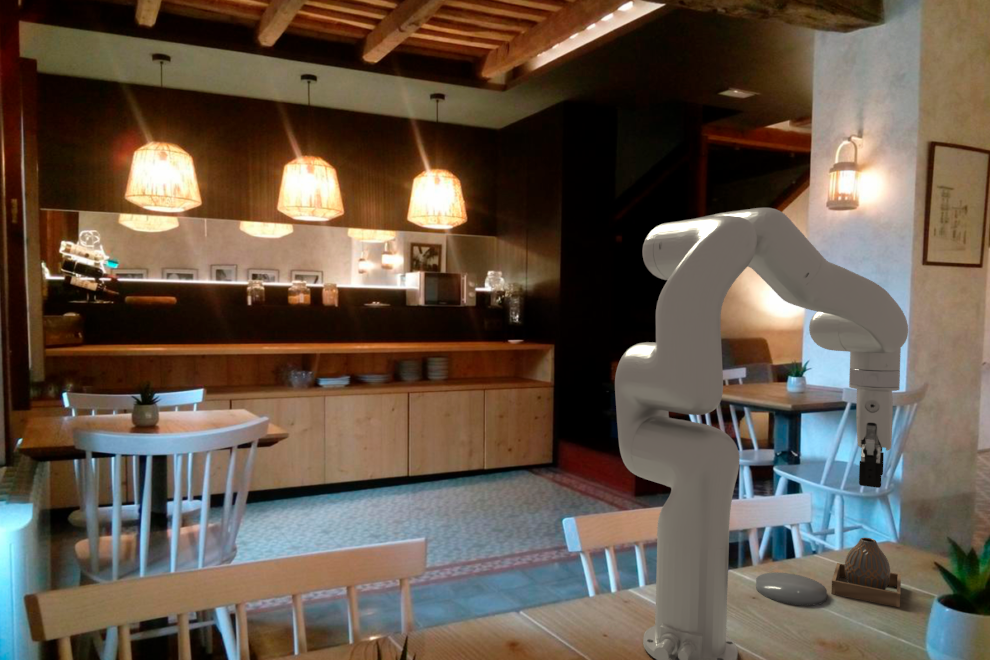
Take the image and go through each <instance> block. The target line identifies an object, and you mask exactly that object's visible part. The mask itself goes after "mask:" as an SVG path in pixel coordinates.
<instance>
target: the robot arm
mask: <svg viewBox="0 0 990 660" xmlns="http://www.w3.org/2000/svg"><path fill="white" fill-rule="evenodd" d="M642 258H643V263H644V265H645V267H646V269H647V270H648V271H649V272H650V273H651V274H652V276H654V277H656V278H658V279H661V280H664V281H666V282H665V284H664V285H663V288H662V289H661V291H660V294H659V296H658V300H657V301H656V309H655V342H653V341H652V342H649V341H646V342H639V343H636V344H634V345H632V346H630V347H629V348H627V349H626V351H625V352H624V353H623V355H622V356H621V358H620V360H619V362H618V365H617V367H616V372H615V376H614V378H615V379H614V391H615V392H614V394H615V406H616V407H615V408H616V409H615V410H616V423H617V424H616V426H617V438H618V447H619V453H620V456H621V459H622V462H623V464H624V466H625V467H626V469H627V470H628V471H629V472H630V473H632V474H633V475H635V476H637V477H639V478H642V479H643V480H648V481H651V482H654V483H657V484H660V485H663V486H666V487H668V488H670V489H671V490H670V494H669V496H668V498H667V499H666V501H665V503H664V504H663V506H662V508H661V510H660V512H659V515H658V519H657V527H656V528H657V531H656V533H657V534H656V536H657V538H656V539H657V542H656V575H655V576H656V579H655V585H656V586H655V618H654V620H655V621H654V622H655V623H654V625H652V626H650V627H649V628H647V629H646V631H645V632H644V633H643V641H642V643H643V648H644V649H645V651H646V652H647V654H648V655H650V656H651V657H652V658H654V659H655V660H738V653H739V650H738V645H737V644H736V643H735V642H734V641H733V640H732V638H730V637H729V636H728V635H727V623H728V622H727V619H728V618H727V617H728V614H727V613H728V589H729V588H728V586H729V585H728V584H729V554H730V553H729V551H730V544H729V543H730V524H731V523H730V521H731V519H730V518H731V507H732V501H733V495H734V490H735V487H736V482H737V479H738V474H739V470H740V461H741V460H740V452H739V449H738V447H737V444H736V442H735V440H734V439H733V438H732V437H731V436H730V435H729V434H727V433H726V432H725V431H723V430H721V429H719V428H717V427H715V426H712V425H709V424H706V423H701V422H695V421H691V420H685V419H678V418H674V417H673V418H672V417H670V415H669V412H670V413H677V414H683V415H690V416H691V415H692V416H693V415H695V416H701V415H707V414H709V413H711V412H713V411H714V410H716V409H717V408H718V407H719V405H720V403H721V401H722V398H723V392H724V371H723V354H722V351H723V350H722V336H721V335H722V333H721V332H722V331H721V330H722V329H721V325H722V324H721V321H722V320H721V318H722V317H721V316H722V315H721V314H722V307H723V304H724V301H725V298H726V296H727V294H728V292H729V291H730V289H731V288H732V286H733V285H734V283H735V281H737V279H738V278H739V277H740V275H742V273H743V272H744V271H745V270H746V269H747V268H750V269H752V270H753V272H755V273H756V274H757V275H758V276H759V277H760V279H762V280H763V281H764V282H765V283H766V284H767V285H768V286H769V287H770V288H771V289H772V290H773V291H774V292H775V293H776V294H777V296H778V297H780V298H781V299H782V300H783V301H784V302H786V303H788V304H790V305H793V306H796V307H799V308H802V309H805V310H810V311H814V312H815V313H814V314H813V316H812V317H811V319H810V322H809V326H808V329H809V330H808V331H809V335H810V337H811V339H812V340H813V342H814V344H816V345H817V346H818V347H821V348H822V349H824V350H828V351H834V352H835V351H836V352H847V353H848V352H850V353H849V382H848V383H849V384H848V386H849V388H850V389H856V414H855V416H856V439H857V446H858V448H860V449H861V454H860V460H859V465H858V466H859V467H858V469H859V470H858V471H859V472H858V473H859V474H858V479H859V480H858V484H859V486H861V487H868V488H870V487H871V488H875V489H876V488H879V489H881V488H882V476H883V475H884V458H885V457H884V456H885V455H884V454H885V453H884V452H883V448H884V449H885V451H886V452H887V451H890V450H891V448H892V445H893V444H892V440H893V439H892V438H893V414H894V413H893V412H894V410H893V409H894V406H893V403H894V402H893V399H894V398H893V392H895V391H900V386H901V385H900V384H901V383H900V382H901V348H902V347H904V345H905V343H906V341H907V339H908V336H909V335H908V334H909V325H908V321H907V317H906V315H905V313H904V311H903V309H901V307H900V306H899V304H898V303H897V301H896V300H895V299H894V298H893V296H892V295H891V294H890V293H889V292H888V291H887V290H886V289H885V288H883V287H882V286H881V285H879V284H878V283H876V282H875V281H873V280H871V279H869V278H866V277H864V276H863V275H860V274H857V273H855V272H853V271H851V270H849V269H847V268H845V267H842V266H840V265H837V264H836V263H833V262H830V261H828V260H827V259H826V258H825V257H824V256H823V255H822V253H820V252H819V250H817V248H816V247H815V246H814V245H813V244H812V243H811V242H810V240H809V239H808V238H806V236H805V235H804V233H803V232H802V231H801V230H800V229H799V228H798V227H797V226H796V225H795V223H794V222H792V220H791V219H790V218H789V217H788V216H787V215H786V214H785V213H784V212H782V211H781V210H778V209H776V208H772V207H756V208H755V207H753V208H750V209H748V208H747V209H740V210H732V211H726V212H719V213H715V214H714V213H713V214H710V215H705V216H700V217H696V218H691V219H690V218H689V219H683V220H677V221H670V222H664V223H661V224H659V225H656V226H655V227H654V228H653V229H651V230H650V231H649V233H648V234H647V235H646V237H645V239H644V242H643V244H642Z"/></svg>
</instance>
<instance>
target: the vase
mask: <svg viewBox="0 0 990 660" xmlns="http://www.w3.org/2000/svg"><path fill="white" fill-rule="evenodd" d="M844 564H845V575H846V577H845V578H846V580H847V583H851V584H856V585H862V586H867V587H872V588H877V589H882V590H886V589H887V588H888V587H889V586H888V583H889V580H890V573H891V566H890V563H889V561H888V558H887V556H886V554H885V553H884V551H882V549H881V548H880V546H879V545H878V542H877V541H876V539H874V538H870V537H861V538H860V539H859V541H858V542H857V543H856V544H855V545H854V546H853V547H852V548H851V550H850V551H849V552H848V553H847V555H846V557H845V561H844Z"/></svg>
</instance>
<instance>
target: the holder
mask: <svg viewBox="0 0 990 660" xmlns="http://www.w3.org/2000/svg"><path fill="white" fill-rule="evenodd" d="M840 578H846V575H845V563H840V562H837V563H836V565H835V568H834V571H833V575H832V579H831V591H830V592H831V595H836V596H842V597H847V598H851V599H856V600H860V601H861V600H862V601H866V602H872V603H875V604H881V605H887V606H891V607H896V608H901V587H902V582H901V581H902V574H901V573H895V572H890V580H889V583H888V585H889V586H888V587H893V586H896V587H895V588H896V591H892V590H886V589H885V590H882V589H877V588H872V587H867V586H862V585H856V584H851V583H848V582H845V581H840Z"/></svg>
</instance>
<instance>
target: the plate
mask: <svg viewBox="0 0 990 660" xmlns="http://www.w3.org/2000/svg"><path fill="white" fill-rule="evenodd" d="M755 589H756V591H757V592H758V593H759V594H761V595H762V596H764V597H766V598H768V599H771V600H773V601H777V602H778V603H779V602H780V603H784V604H788V605H795V606H803V607H804V606H810V607H811V606H817V605H821V604H823V603H825V602H826V601H827V596H828V595H827V594H828V593H827V592H828V591H827V588H826V586H825V585H823V584H822V583H820V582H819V581H817V580H815V579H812V578H809V577H807V576H802V575H800V574H794V573H787V572H766V573H761V574H759V575H758V576H757V577H756V579H755Z"/></svg>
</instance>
